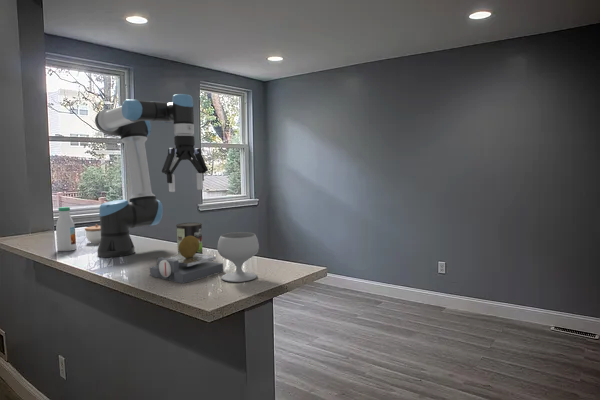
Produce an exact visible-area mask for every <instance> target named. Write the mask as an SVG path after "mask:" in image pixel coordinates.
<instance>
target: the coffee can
mask: <svg viewBox="0 0 600 400" xmlns="http://www.w3.org/2000/svg"><path fill="white" fill-rule="evenodd" d="M202 225H203V223H202V222H201V223H200V222H183V223H178V224H176V226H175V227H176V239H177V240H176V241H177V256H179V255H181V253H180V251H179V244H180V242H181V241H182V240H183V238H185V237H187V236H194V237H196V238H197V239H198V241H199V245H200V247H199V250H198V251H197V252H196V253H199V254H204V253H203V232H202V230H203V227H202Z"/></svg>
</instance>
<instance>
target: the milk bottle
mask: <svg viewBox="0 0 600 400" xmlns="http://www.w3.org/2000/svg"><path fill="white" fill-rule="evenodd" d="M70 208H71V207H70V206H63V207H58V213H59V215H58V219H57V220H56V222H55V223H56V224H55V232H56V246H57V251H58V252H69V251H74V250H76V249H77V241H76V239H77V238H76V228H75V227H76V226H75V225H76V224H75V222H74V219H73V218H72V217H71V214H70V213H71V209H70Z"/></svg>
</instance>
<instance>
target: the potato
mask: <svg viewBox="0 0 600 400" xmlns="http://www.w3.org/2000/svg"><path fill="white" fill-rule="evenodd" d="M199 247H200V245H199V241H198V239H197V238H196V237H194V236H187V237H185V238H183V240H182V241H181V242H180V244H179V251H180V253H181V255H182V256H183V257H185V258H191V257H193V256H194V255H195V253H196V252H197V251H198V250H199Z"/></svg>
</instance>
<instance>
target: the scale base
mask: <svg viewBox="0 0 600 400" xmlns="http://www.w3.org/2000/svg"><path fill="white" fill-rule="evenodd" d="M169 258H170V257H163V256H161V257H158V258H156V261H157V265H154V266H150V267H149V276H151V277H155V278H159V279H162V280H163V279H164V280H167V281H172V282H175V283H180V284H186V283H189V282H190V283H191V282H193V281H196V280H199V279H202V278H203V279H204V278H207V277H210V276H213V275H217V274H220V273H222V272H224V263H223V262H216V261H213V260H212V261H207V262H203V263H199V264H195V265H192V266H188V267H187V266H182V265H179V261H178V260H174V259H169Z"/></svg>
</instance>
